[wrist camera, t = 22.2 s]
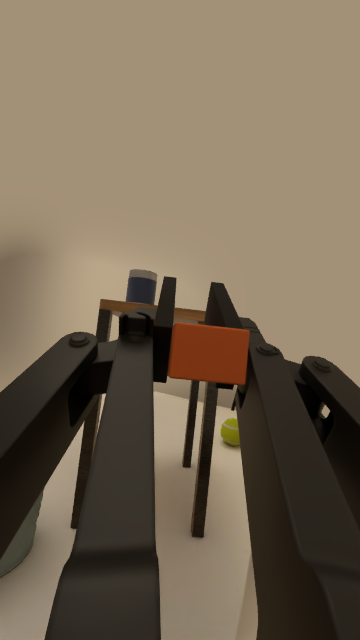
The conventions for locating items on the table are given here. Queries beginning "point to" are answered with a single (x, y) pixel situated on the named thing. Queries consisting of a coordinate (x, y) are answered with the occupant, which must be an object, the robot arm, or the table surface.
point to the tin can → (141, 287)
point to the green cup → (21, 540)
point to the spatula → (208, 353)
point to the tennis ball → (230, 432)
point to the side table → (206, 428)
